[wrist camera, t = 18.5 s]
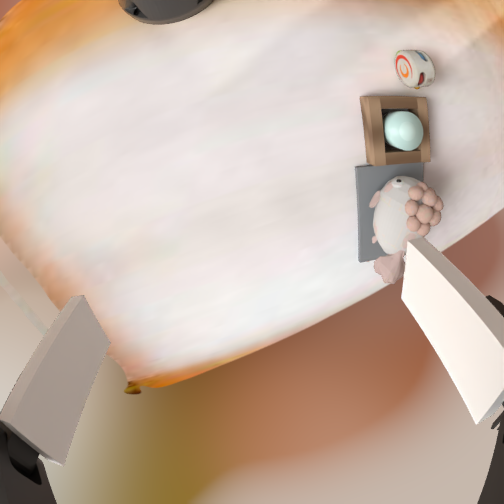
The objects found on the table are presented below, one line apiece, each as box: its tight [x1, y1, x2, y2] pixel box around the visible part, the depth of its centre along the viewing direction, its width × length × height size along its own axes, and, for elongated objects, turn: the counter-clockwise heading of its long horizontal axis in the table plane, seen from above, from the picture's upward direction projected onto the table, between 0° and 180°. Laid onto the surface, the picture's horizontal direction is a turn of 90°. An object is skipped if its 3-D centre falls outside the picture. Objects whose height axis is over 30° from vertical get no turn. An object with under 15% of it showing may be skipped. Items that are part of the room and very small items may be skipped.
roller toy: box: [395, 50, 435, 89], centre depth 29 cm, size 4×6×6 cm
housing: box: [360, 96, 430, 166], centre depth 35 cm, size 10×10×3 cm
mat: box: [355, 162, 423, 263], centre depth 42 cm, size 16×12×1 cm
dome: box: [382, 111, 423, 151], centre depth 34 cm, size 6×6×4 cm
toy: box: [369, 176, 443, 284], centre depth 38 cm, size 10×15×10 cm, turn 164°
